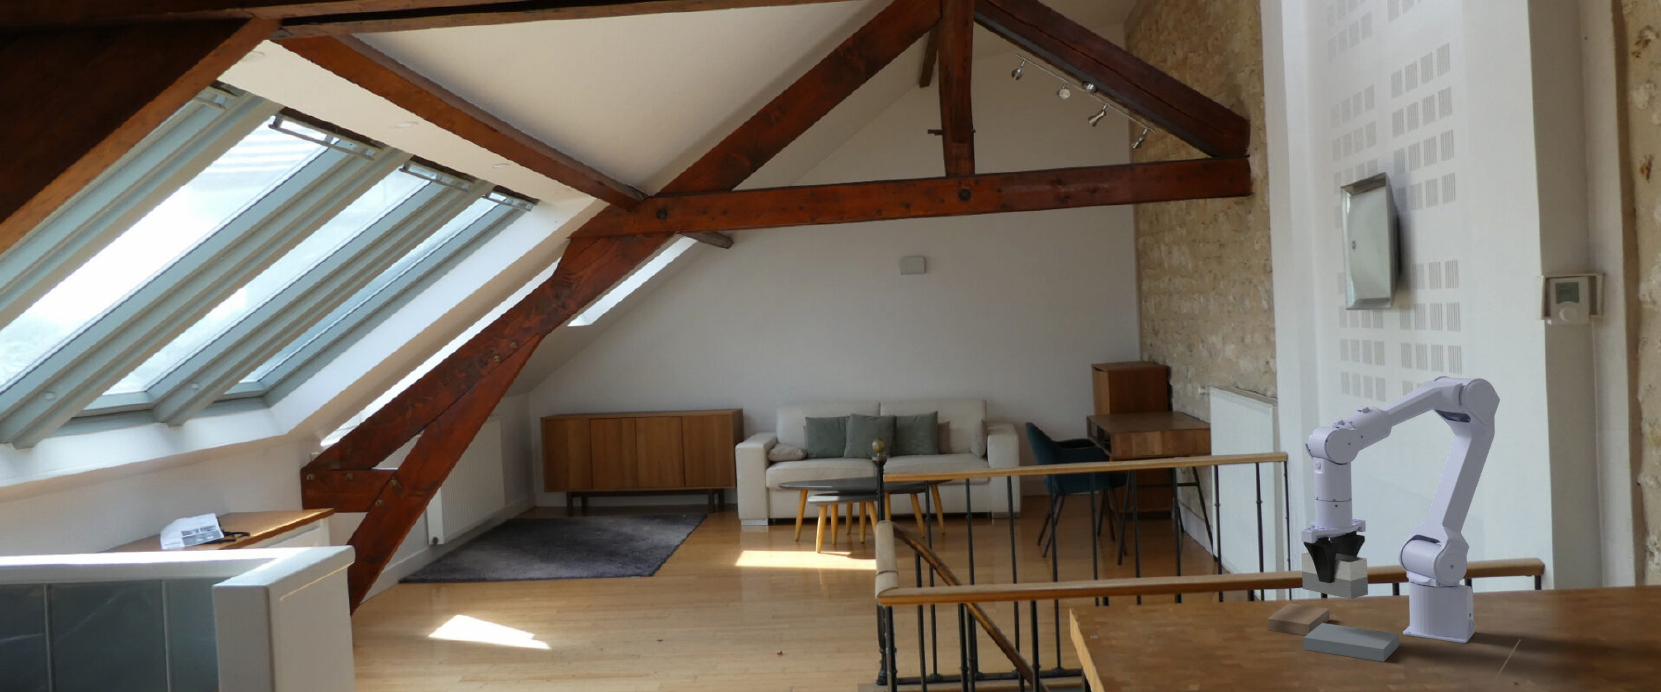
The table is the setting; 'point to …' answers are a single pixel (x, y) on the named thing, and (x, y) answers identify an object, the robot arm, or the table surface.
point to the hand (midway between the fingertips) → (1335, 579)
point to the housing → (1338, 576)
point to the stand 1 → (1297, 619)
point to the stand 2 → (1352, 642)
